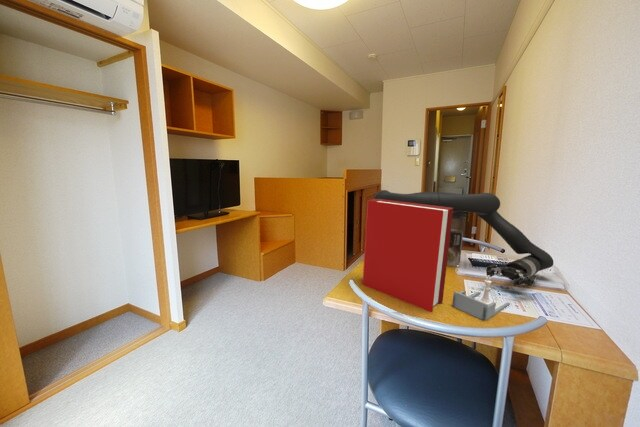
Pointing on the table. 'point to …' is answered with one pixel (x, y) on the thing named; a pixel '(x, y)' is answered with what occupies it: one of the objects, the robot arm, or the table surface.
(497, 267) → the robot arm
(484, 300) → the chess piece
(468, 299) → the chute
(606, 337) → the table surface
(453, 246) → the coffee box
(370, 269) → the book
